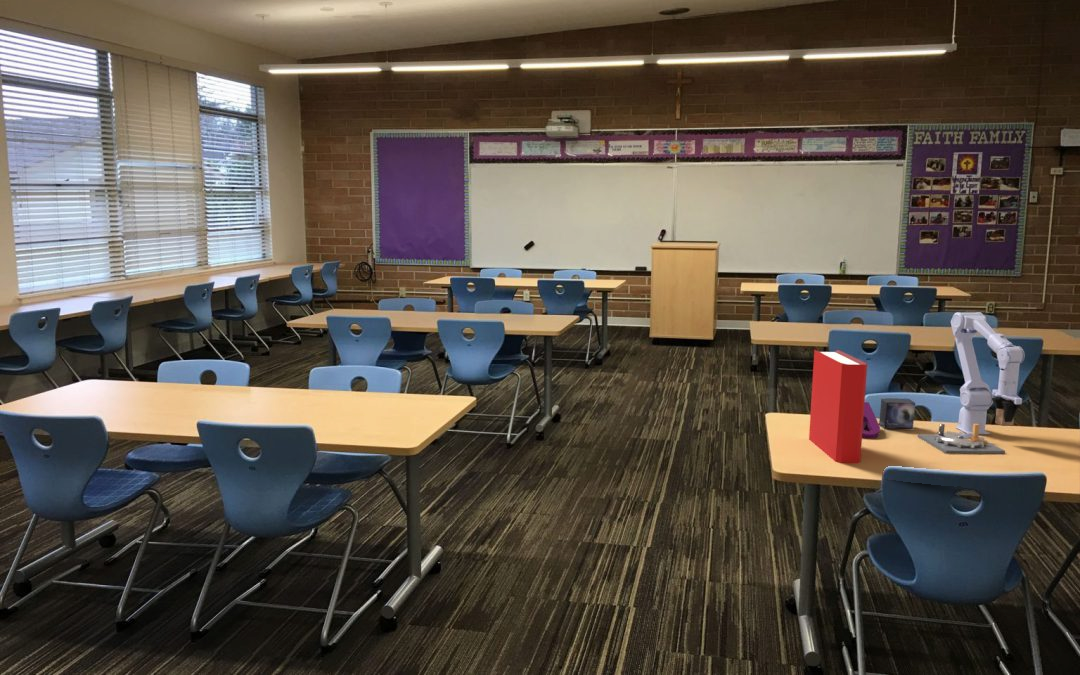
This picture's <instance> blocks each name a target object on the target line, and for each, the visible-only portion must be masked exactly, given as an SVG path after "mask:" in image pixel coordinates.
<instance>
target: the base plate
mask: <svg viewBox="0 0 1080 675" xmlns="http://www.w3.org/2000/svg"><path fill="white" fill-rule="evenodd" d="M935 434H936V433H935ZM935 434H933V433H932V434H929V433H928V434H927V433H926V434H925V433H924V434H920V433H919V434H917V438H918V437H919V439H920V438H921V439H920V440H922V441H923V440H924V441H923V442H925V441H926V442H925V443H927V444H929V445H930V444H931V445H930V446H933V448H935V447H936V448H935V449H937V448H938V450H939V451H940V450H941V451H940V452H942V451H943V452H942V453H944V454H946V453H951V454H952V453H953V454H954V453H960V454H963V455H964V454H965V455H966V454H969V455H971V454H973V455H975V454H983V455H984V454H987V455H989V454H995V455H996V454H997V455H999V454H1001V455H1002V454H1003V453H1005V454H1006V450H1004V449H1003V448H1001V447H999V446H997V445H994V444H993V443H991V442H989V441H987V445H984V447H983V448H981V447H974V448H969V447H961V448H959V447H957V446H952V445H944V443H942V442H937V441H936V439H934V435H935ZM972 434H974V435H976V436H977V437H979V435H980V434H979V424H973V432H972ZM972 434H970V435H972ZM937 435H938V433H937ZM1003 455H1004V454H1003Z"/></svg>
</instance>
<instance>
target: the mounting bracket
mask: <svg viewBox="0 0 1080 675" xmlns="http://www.w3.org/2000/svg"><path fill="white" fill-rule="evenodd" d="M867 430H869V431H867ZM880 431H881V426H880V425H879V421H878V419H877V417H876V414H875V413H874V411H873V409H872V407H871V404H870V402H867V401H865V404H864V418H863V431H862V439H876V438H877V437H878V436H879V434H880Z"/></svg>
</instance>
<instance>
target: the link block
mask: <svg viewBox="0 0 1080 675" xmlns="http://www.w3.org/2000/svg"><path fill="white" fill-rule="evenodd" d="M1014 420H1015V416H1014V417H1013V420H1012V422H1005V419H1004V409H997V410H996V409H995V420H994V423H995V424H997V425H999V426H1002V427H1004V426H1005V427H1009V426H1010V427H1011V426H1012V427H1013V426H1014V422H1015V421H1014Z"/></svg>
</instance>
